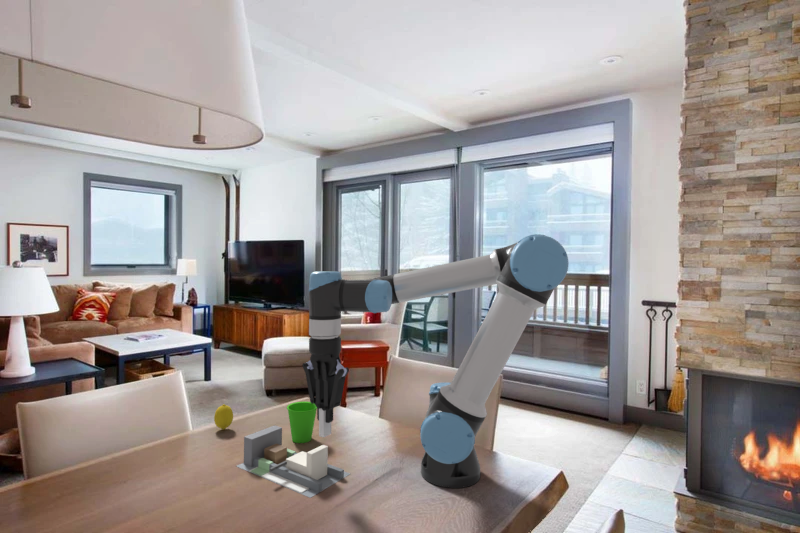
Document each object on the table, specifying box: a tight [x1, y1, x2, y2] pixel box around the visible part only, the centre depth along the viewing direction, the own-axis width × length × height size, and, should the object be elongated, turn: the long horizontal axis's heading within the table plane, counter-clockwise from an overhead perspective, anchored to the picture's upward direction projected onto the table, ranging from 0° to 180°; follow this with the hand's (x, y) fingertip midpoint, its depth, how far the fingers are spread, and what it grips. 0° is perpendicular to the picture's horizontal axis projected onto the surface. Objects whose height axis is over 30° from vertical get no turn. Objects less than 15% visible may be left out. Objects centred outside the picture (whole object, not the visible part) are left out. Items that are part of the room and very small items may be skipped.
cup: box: [286, 401, 317, 444], centre depth 133 cm, size 9×9×11 cm
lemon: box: [213, 403, 234, 431], centre depth 142 cm, size 6×6×8 cm
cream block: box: [270, 444, 329, 480], centre depth 109 cm, size 9×11×7 cm
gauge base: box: [235, 425, 351, 499], centre depth 114 cm, size 26×14×8 cm, turn 57°
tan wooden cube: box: [264, 444, 288, 465], centre depth 117 cm, size 4×4×4 cm
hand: (325, 434), depth 108 cm, fingers closed
